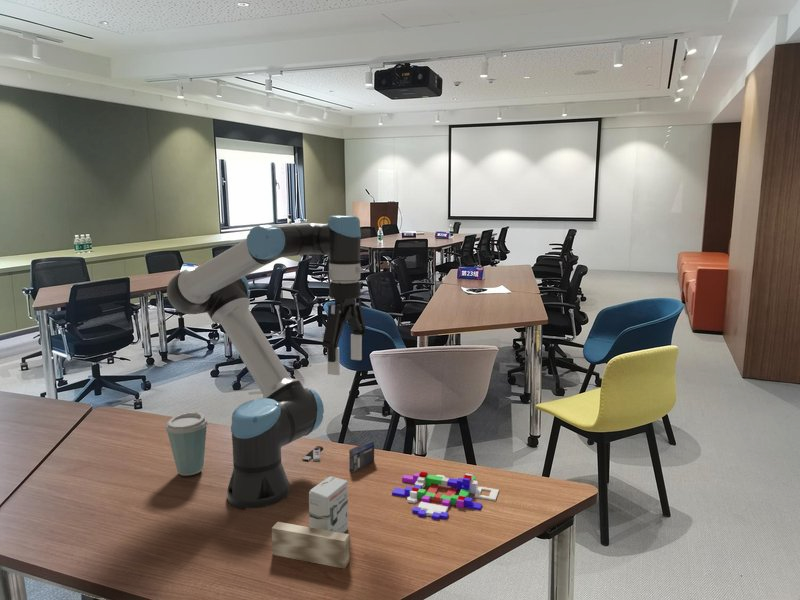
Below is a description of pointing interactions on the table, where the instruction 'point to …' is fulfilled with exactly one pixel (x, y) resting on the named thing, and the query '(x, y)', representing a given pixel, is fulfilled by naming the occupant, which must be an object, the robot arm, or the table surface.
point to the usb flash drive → (314, 454)
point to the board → (310, 544)
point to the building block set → (440, 481)
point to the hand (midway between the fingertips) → (345, 366)
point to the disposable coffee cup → (188, 441)
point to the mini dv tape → (361, 456)
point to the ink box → (329, 505)
